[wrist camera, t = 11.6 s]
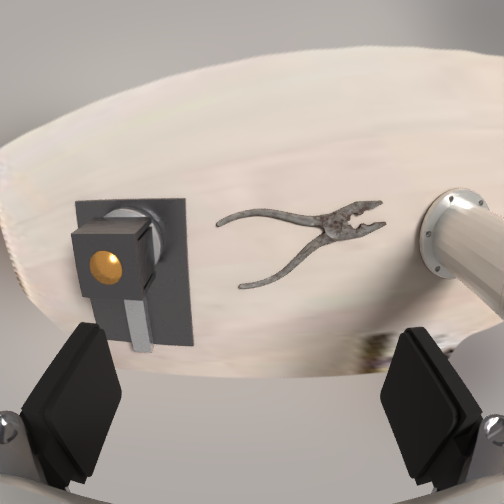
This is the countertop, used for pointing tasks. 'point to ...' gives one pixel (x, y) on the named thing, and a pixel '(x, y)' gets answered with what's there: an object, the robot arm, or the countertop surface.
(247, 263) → the countertop surface
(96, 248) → the socket
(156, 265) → the lever switch plate
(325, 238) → the pliers
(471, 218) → the robot arm
